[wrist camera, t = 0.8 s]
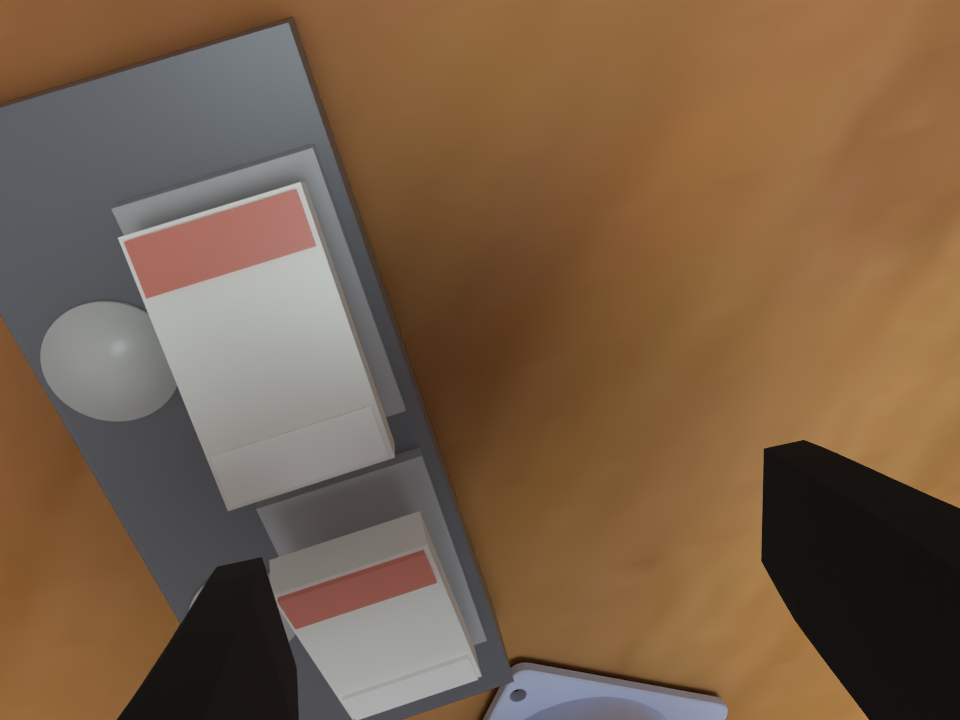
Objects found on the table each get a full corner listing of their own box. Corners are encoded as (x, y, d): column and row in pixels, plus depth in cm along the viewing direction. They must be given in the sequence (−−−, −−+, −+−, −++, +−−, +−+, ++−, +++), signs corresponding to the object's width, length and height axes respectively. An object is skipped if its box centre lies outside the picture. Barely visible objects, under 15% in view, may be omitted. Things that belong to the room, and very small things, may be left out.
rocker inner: (473, 643, 20) (482, 680, 19) (348, 685, 20) (353, 724, 19) (419, 511, 17) (428, 549, 16) (269, 560, 17) (271, 601, 16)
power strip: (508, 652, 25) (535, 749, 22) (288, 725, 25) (283, 835, 22) (292, 16, 17) (286, 25, 14) (-43, 115, 16) (-130, 148, 13)
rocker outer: (394, 442, 16) (395, 459, 15) (236, 493, 16) (227, 513, 15) (305, 181, 15) (299, 181, 14) (133, 234, 15) (116, 237, 14)
